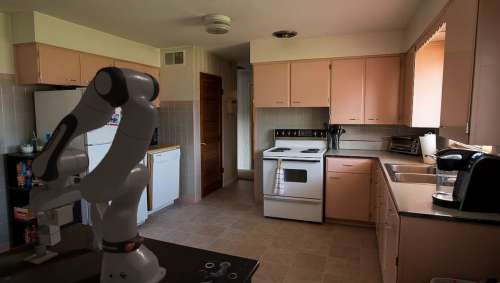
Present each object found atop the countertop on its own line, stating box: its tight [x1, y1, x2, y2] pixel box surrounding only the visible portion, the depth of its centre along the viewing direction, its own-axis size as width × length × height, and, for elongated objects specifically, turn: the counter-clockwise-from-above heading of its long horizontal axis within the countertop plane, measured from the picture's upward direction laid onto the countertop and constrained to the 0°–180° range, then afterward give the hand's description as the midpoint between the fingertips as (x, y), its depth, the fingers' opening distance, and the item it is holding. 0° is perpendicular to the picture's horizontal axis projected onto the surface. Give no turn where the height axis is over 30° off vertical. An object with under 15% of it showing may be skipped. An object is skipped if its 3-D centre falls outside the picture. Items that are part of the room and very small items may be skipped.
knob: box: [47, 204, 74, 227], centre depth 115 cm, size 6×6×7 cm
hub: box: [23, 244, 59, 265], centre depth 116 cm, size 8×8×5 cm
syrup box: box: [36, 212, 61, 247], centre depth 128 cm, size 6×6×14 cm
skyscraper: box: [86, 201, 110, 252], centre depth 125 cm, size 8×8×28 cm
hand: (60, 216), depth 115 cm, fingers closed on knob, 6 cm apart
